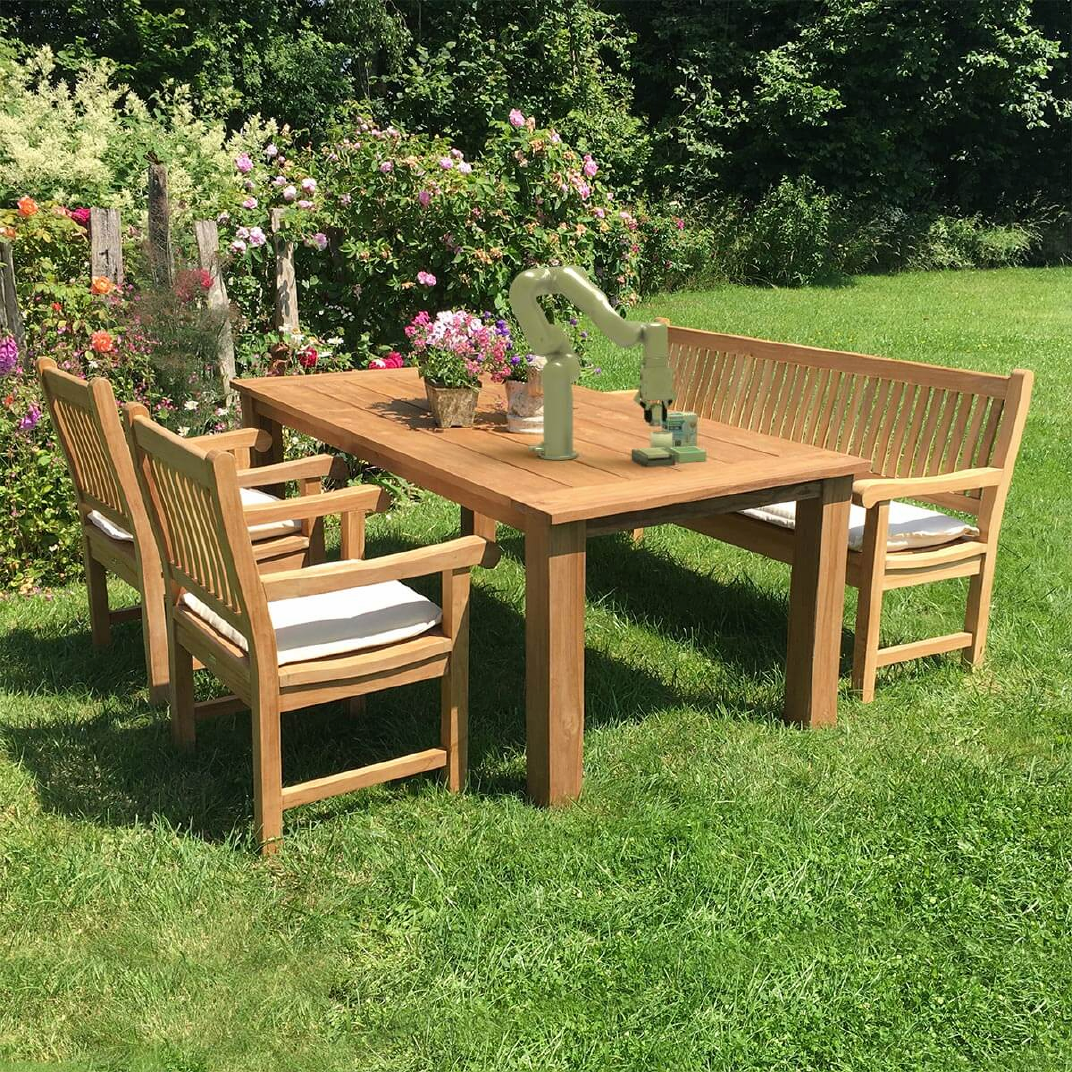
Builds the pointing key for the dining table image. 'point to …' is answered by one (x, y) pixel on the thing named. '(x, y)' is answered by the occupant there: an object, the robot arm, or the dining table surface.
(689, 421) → the light bulb box
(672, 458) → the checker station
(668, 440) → the ceramic cup
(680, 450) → the tray
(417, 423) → the dining table surface
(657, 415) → the cell
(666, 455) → the checker pad
